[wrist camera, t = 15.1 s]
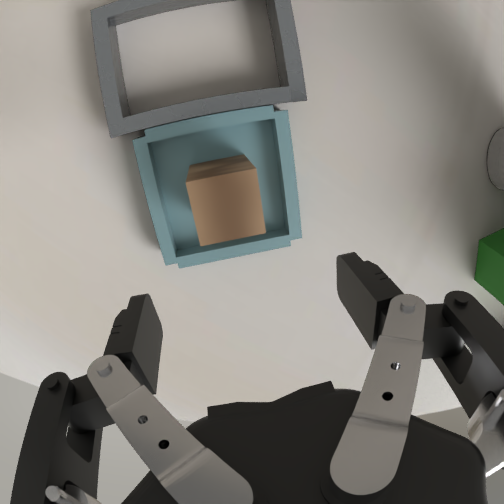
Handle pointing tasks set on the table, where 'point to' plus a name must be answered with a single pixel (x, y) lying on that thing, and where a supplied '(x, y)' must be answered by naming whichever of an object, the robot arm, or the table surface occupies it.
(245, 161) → the walnut block
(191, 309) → the table surface
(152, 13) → the holder
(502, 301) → the hardback book
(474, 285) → the table surface
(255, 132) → the tray
